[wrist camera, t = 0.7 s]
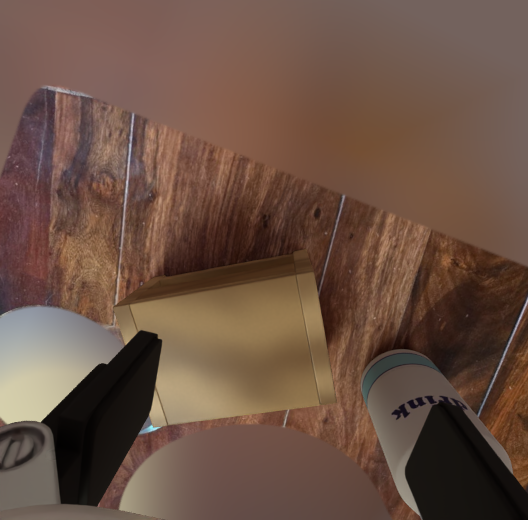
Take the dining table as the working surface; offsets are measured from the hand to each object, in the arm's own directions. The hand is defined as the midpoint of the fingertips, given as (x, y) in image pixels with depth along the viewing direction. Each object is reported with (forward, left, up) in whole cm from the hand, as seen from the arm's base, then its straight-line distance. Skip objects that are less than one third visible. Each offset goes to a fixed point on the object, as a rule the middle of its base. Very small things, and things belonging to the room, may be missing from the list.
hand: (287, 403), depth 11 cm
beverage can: (+12, +8, -18) cm, 23 cm away
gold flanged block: (+4, -5, -18) cm, 19 cm away
